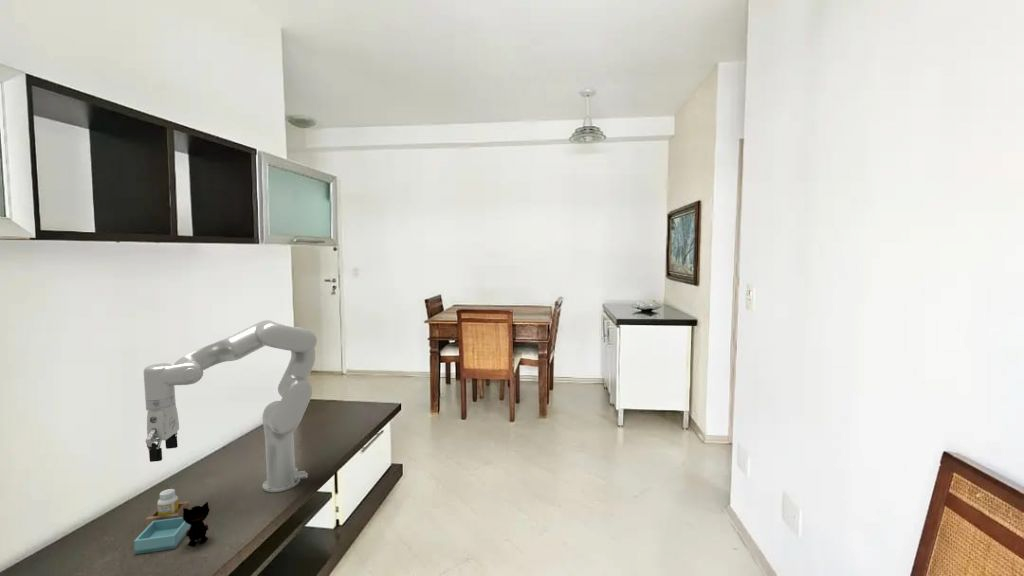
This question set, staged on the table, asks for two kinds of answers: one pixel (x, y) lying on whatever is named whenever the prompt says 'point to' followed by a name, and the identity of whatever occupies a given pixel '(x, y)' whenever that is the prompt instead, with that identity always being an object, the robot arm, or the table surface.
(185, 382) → the robot arm
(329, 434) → the table surface
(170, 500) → the supplement bottle
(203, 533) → the cat figurine
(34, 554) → the table surface
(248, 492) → the table surface
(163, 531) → the tray
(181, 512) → the hollow wooden block
